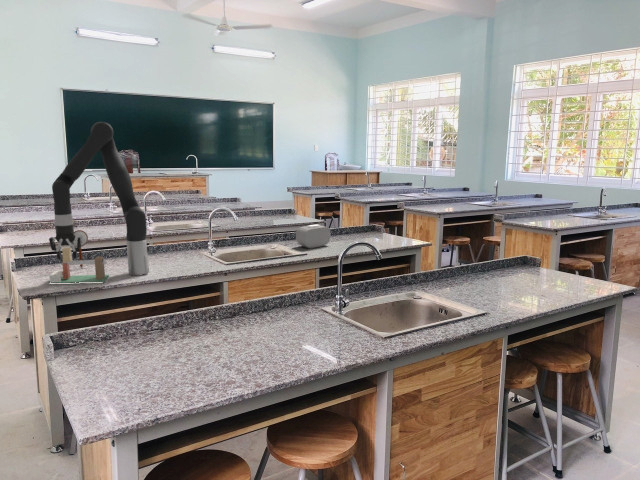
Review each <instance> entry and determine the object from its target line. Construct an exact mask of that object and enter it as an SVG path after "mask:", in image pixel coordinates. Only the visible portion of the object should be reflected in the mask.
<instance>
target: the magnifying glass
mask: <svg viewBox="0 0 640 480" xmlns="http://www.w3.org/2000/svg"><path fill="white" fill-rule="evenodd" d="M74 235H75V237H82V243H81V249H79V250H78V255H79V256H78V257H79V260H83V253H82V252H83V251H82V247H84V246H85V245H86V244H87V243H88V240H89V236H88V234H87V232H86V231H84V230H82V229H80V230H79V229H78V230H74ZM73 242H74V244H75V246H76V248H77V241H76V239H75V240H74V241H73ZM79 267H80V268H81V269H83V267H84V264H79Z"/></svg>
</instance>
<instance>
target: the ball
mask: <svg viewBox="0 0 640 480" xmlns="http://www.w3.org/2000/svg"><path fill="white" fill-rule="evenodd" d="M57 271H58V272H56V274H55V275H61V279H63V278H64V276H63V272H62V271H63V270H57Z"/></svg>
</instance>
